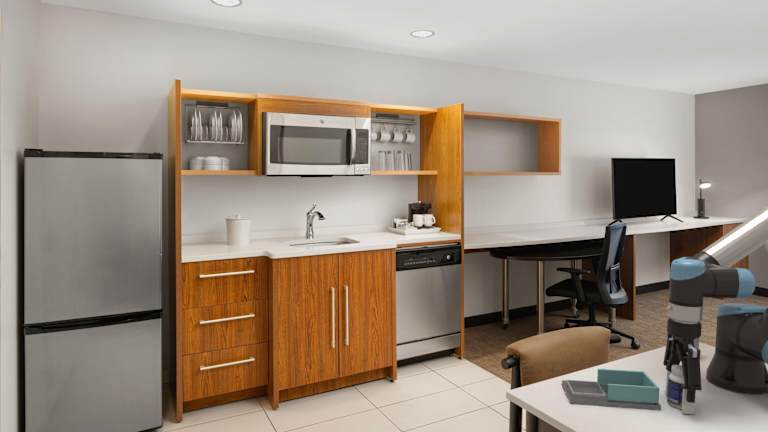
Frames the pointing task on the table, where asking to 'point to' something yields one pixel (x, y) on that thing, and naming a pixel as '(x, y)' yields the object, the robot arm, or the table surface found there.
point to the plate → (598, 395)
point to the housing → (629, 385)
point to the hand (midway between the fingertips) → (679, 403)
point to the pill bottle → (675, 386)
